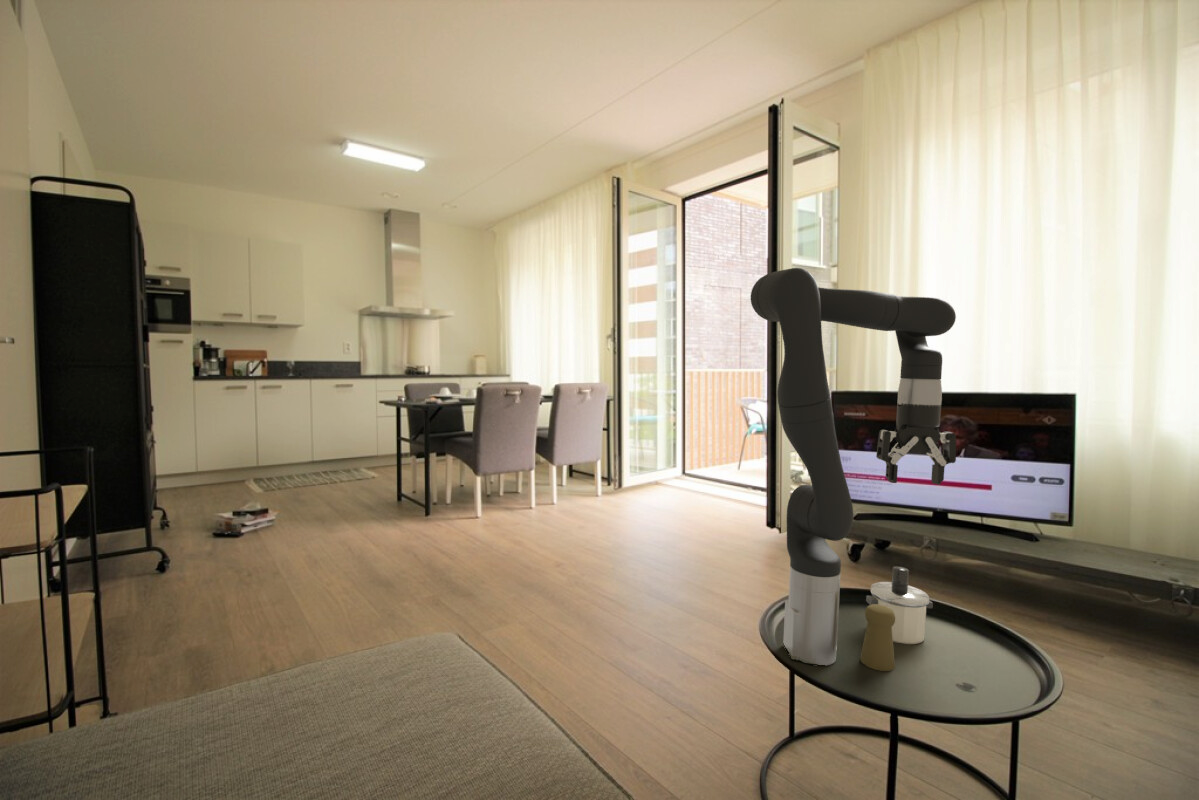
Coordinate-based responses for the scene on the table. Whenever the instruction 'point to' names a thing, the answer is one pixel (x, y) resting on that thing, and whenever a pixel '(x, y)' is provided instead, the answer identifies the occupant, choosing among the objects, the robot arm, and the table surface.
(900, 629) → the pot
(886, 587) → the lid
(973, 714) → the table surface
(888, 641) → the cork
